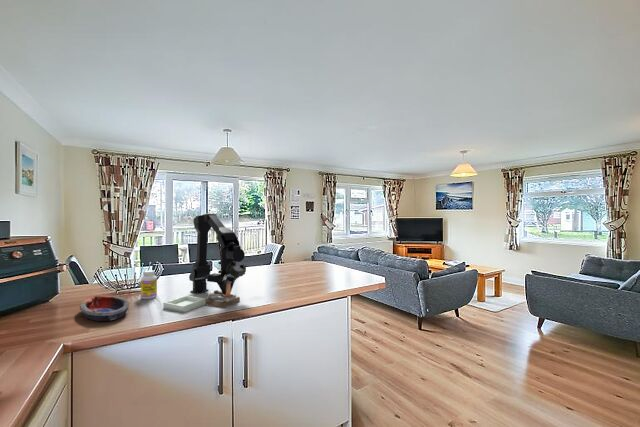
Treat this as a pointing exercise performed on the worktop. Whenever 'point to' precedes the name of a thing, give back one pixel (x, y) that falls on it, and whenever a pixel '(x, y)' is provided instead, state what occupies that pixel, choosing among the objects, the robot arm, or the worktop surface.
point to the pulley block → (220, 299)
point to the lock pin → (228, 289)
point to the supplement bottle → (148, 285)
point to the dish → (104, 307)
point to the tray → (184, 303)
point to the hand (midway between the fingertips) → (227, 293)
